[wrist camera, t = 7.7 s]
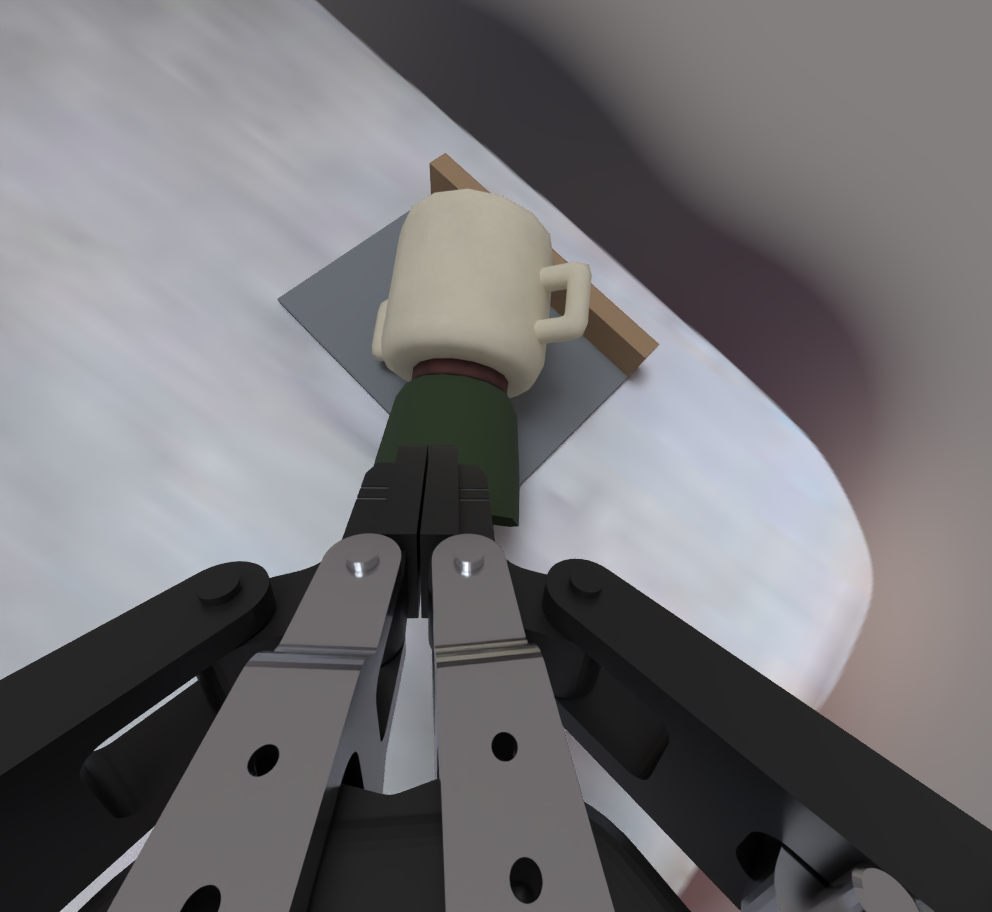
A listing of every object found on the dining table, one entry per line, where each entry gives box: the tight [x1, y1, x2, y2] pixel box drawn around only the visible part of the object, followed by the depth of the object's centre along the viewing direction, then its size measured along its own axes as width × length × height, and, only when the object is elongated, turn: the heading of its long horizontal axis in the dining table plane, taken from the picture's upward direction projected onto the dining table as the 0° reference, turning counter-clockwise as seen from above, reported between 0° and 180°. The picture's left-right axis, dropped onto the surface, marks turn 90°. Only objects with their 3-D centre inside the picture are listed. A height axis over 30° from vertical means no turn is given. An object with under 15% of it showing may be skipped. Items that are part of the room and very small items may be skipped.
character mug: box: [372, 189, 592, 527], centre depth 18 cm, size 11×7×13 cm
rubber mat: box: [278, 153, 659, 485], centre depth 21 cm, size 12×16×2 cm
